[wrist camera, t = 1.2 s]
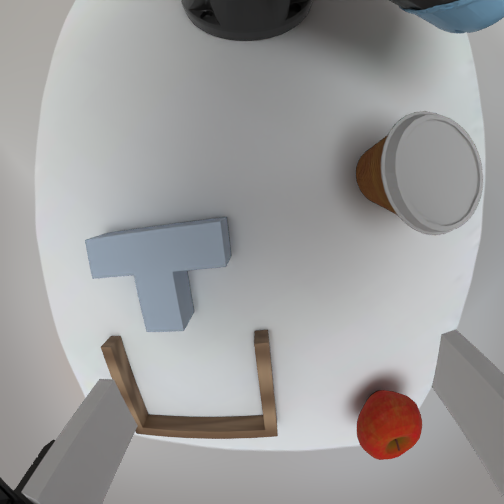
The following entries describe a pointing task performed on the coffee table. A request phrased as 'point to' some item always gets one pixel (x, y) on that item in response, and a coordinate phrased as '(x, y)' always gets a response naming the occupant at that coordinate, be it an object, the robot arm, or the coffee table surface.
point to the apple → (388, 425)
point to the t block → (162, 265)
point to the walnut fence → (196, 425)
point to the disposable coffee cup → (424, 173)
